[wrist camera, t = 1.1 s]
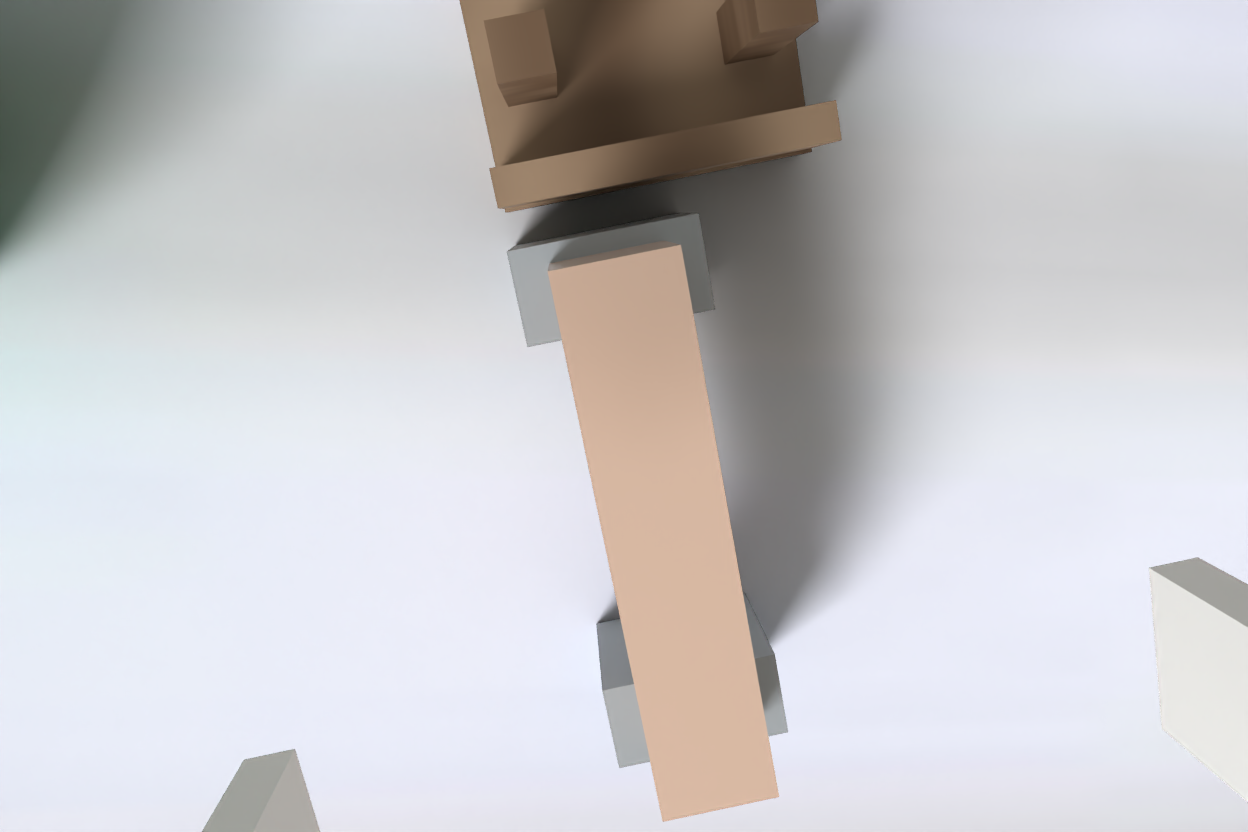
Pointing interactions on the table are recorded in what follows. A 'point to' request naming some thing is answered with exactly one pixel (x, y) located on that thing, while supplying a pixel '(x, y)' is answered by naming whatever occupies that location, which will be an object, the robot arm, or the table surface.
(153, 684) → the table surface
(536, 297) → the grey blocks
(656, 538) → the clay strip
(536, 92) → the rack
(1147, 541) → the table surface
